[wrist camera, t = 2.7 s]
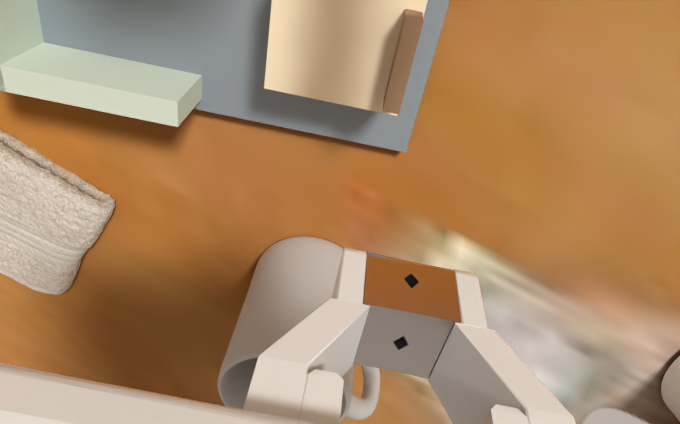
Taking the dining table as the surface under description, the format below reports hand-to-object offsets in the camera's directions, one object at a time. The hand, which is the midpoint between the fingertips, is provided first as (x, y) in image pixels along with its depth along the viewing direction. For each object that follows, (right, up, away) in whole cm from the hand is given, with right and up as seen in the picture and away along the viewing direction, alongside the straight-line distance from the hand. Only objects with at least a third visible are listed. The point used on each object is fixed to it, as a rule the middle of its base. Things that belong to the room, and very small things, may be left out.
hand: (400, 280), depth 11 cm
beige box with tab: (-1, +12, +16) cm, 20 cm away
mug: (-2, -5, +29) cm, 30 cm away
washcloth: (-28, +4, +27) cm, 39 cm away
